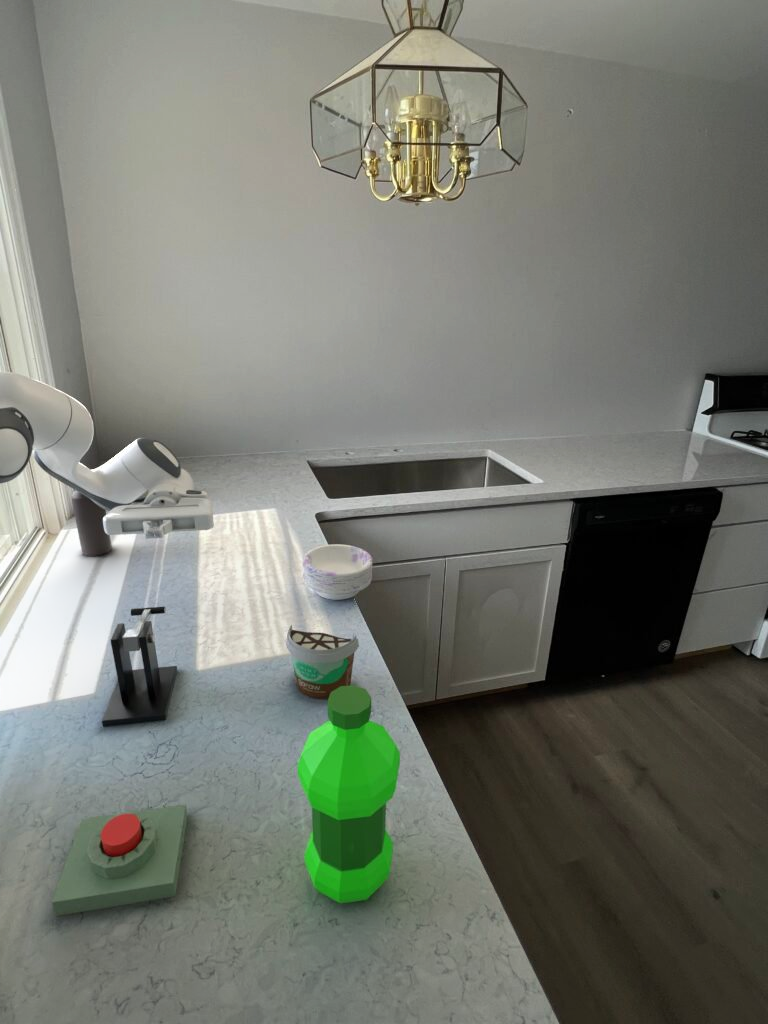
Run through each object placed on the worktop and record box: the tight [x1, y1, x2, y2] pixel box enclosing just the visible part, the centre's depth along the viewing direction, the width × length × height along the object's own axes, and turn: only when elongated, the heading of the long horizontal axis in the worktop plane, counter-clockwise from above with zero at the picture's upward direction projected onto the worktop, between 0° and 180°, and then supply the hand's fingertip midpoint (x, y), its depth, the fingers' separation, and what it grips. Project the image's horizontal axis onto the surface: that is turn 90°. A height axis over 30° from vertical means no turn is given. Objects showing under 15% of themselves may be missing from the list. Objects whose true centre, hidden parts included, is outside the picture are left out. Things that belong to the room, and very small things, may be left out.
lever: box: [122, 606, 167, 653], centre depth 91 cm, size 13×6×2 cm, turn 11°
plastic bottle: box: [296, 684, 401, 904], centre depth 59 cm, size 10×10×25 cm
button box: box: [51, 804, 189, 917], centre depth 63 cm, size 12×10×4 cm
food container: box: [285, 624, 360, 700], centre depth 90 cm, size 12×6×10 cm, turn 76°
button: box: [101, 814, 142, 857], centre depth 62 cm, size 4×4×2 cm
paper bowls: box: [302, 543, 373, 601], centre depth 122 cm, size 15×15×8 cm
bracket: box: [101, 620, 178, 728], centre depth 87 cm, size 12×9×13 cm
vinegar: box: [70, 490, 113, 557], centre depth 135 cm, size 7×7×20 cm
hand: (153, 534), depth 103 cm, fingers closed
